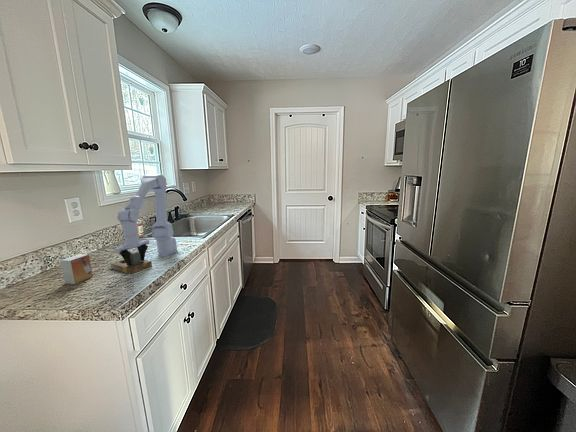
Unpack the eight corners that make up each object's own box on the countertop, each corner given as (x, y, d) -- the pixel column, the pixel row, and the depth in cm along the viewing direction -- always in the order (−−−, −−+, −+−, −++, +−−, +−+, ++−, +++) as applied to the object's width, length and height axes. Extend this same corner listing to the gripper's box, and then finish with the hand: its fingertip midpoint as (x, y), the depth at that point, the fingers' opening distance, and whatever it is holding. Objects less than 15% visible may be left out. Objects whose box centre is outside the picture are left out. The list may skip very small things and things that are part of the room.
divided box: (132, 262, 125) (131, 256, 124) (152, 267, 117) (151, 261, 117) (110, 269, 116) (109, 263, 115) (130, 275, 109) (129, 269, 108)
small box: (74, 284, 101) (69, 260, 99) (64, 283, 102) (59, 260, 100) (93, 276, 109) (89, 254, 107) (83, 275, 110) (79, 253, 108)
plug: (137, 266, 117) (135, 250, 116) (142, 267, 116) (139, 251, 114) (130, 269, 114) (127, 252, 113) (134, 270, 113) (131, 253, 111)
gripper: (141, 230, 120) (145, 256, 122) (109, 238, 107) (114, 267, 110) (150, 231, 117) (154, 258, 119) (118, 239, 104) (123, 269, 107)
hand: (135, 262), depth 114 cm, fingers open, 6 cm apart
